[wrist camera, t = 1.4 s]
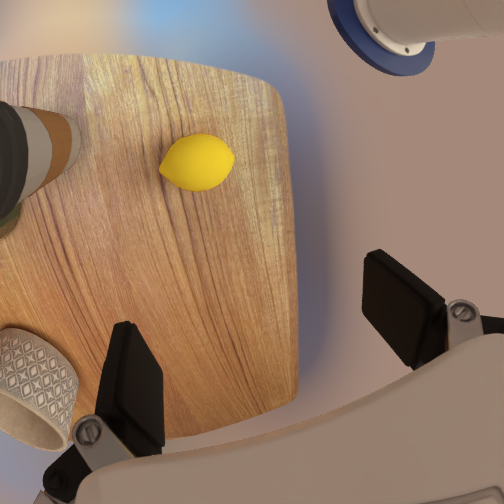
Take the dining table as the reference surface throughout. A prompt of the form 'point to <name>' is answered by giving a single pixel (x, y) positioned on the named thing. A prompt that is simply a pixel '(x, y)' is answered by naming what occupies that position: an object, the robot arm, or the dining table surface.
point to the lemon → (197, 162)
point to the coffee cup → (33, 151)
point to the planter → (35, 391)
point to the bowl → (9, 222)
